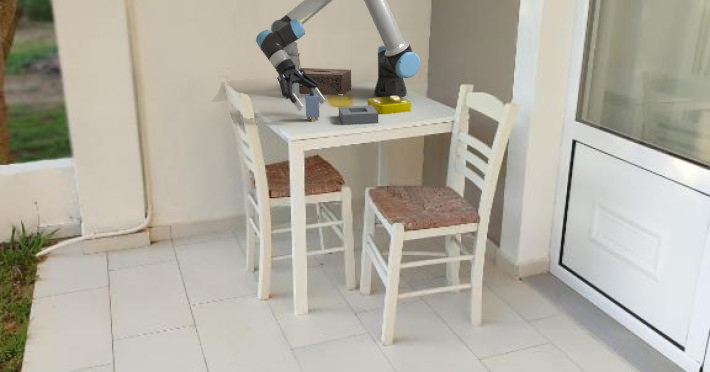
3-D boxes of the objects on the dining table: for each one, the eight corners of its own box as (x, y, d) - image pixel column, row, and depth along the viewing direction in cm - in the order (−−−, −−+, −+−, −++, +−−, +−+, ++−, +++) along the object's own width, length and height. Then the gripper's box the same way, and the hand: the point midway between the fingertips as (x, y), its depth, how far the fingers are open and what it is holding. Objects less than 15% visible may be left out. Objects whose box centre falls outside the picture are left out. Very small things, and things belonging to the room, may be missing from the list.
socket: (372, 114, 272) (372, 105, 271) (378, 123, 259) (378, 113, 258) (338, 116, 271) (338, 106, 269) (343, 124, 258) (342, 114, 256)
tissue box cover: (291, 93, 317) (290, 73, 314) (302, 88, 330) (301, 68, 327) (342, 96, 310) (342, 74, 307) (351, 90, 323) (351, 69, 320)
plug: (318, 118, 268) (317, 86, 264) (319, 121, 264) (318, 89, 259) (306, 119, 268) (304, 87, 263) (307, 122, 263) (305, 89, 258)
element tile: (366, 108, 286) (366, 97, 284) (397, 105, 291) (397, 94, 289) (380, 115, 273) (380, 104, 271) (412, 112, 278) (412, 101, 276)
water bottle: (287, 99, 303) (285, 44, 295) (281, 96, 310) (278, 42, 302) (306, 97, 307) (304, 42, 299) (299, 94, 314) (297, 40, 306)
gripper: (298, 65, 278) (327, 105, 275) (256, 74, 259) (286, 117, 256) (307, 54, 273) (337, 94, 270) (265, 62, 255) (296, 105, 251)
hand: (312, 105), depth 263 cm, fingers open, 13 cm apart
